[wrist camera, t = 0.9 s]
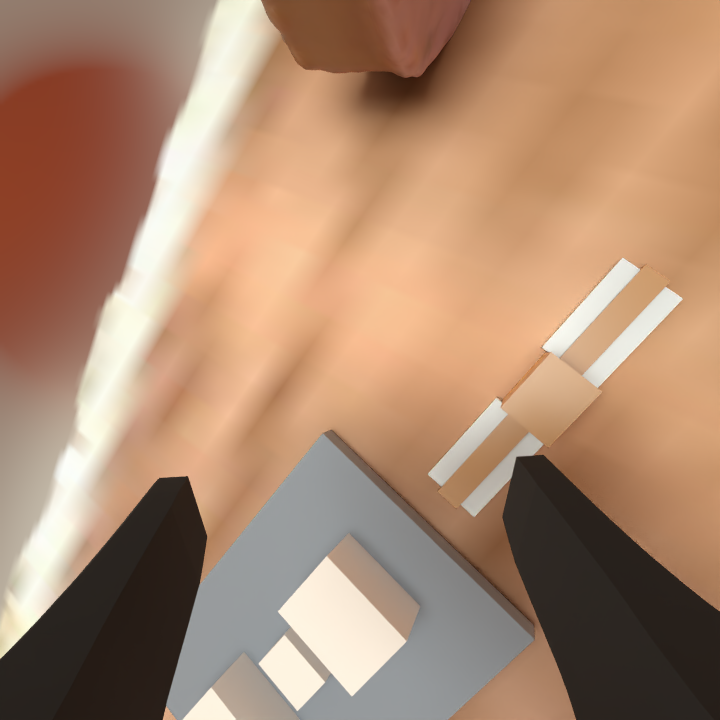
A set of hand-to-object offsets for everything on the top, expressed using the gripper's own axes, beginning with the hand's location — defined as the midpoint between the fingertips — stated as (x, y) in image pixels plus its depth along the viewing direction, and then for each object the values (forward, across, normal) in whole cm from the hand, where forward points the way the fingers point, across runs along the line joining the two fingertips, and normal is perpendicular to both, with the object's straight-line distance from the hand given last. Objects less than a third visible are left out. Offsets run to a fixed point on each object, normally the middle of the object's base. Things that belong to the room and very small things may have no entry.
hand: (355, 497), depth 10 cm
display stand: (+6, +2, +20) cm, 21 cm away
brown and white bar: (+10, -10, +5) cm, 15 cm away
